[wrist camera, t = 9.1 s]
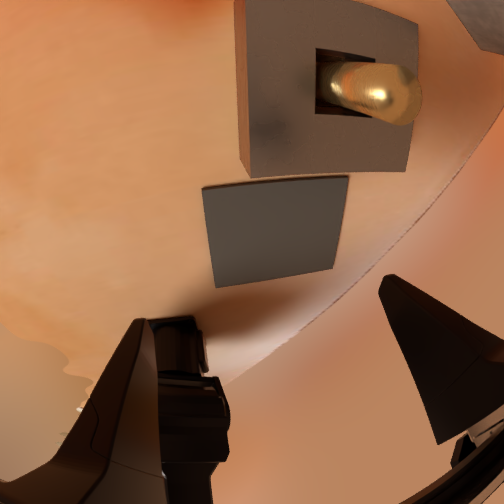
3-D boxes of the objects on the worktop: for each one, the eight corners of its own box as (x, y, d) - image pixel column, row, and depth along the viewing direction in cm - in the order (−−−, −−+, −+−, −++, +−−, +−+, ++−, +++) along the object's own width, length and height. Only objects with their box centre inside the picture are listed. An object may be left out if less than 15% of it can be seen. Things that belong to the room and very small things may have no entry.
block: (239, 158, 19) (250, 178, 16) (233, 2, 12) (244, -15, 8) (376, 154, 21) (405, 172, 18) (384, 26, 13) (417, 24, 10)
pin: (299, 98, 17) (372, 122, 10) (299, 60, 15) (376, 58, 8) (336, 100, 17) (418, 128, 10) (337, 64, 15) (423, 73, 8)
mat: (215, 285, 26) (215, 288, 25) (201, 188, 20) (201, 190, 19) (331, 266, 28) (332, 268, 27) (346, 176, 21) (348, 177, 21)
